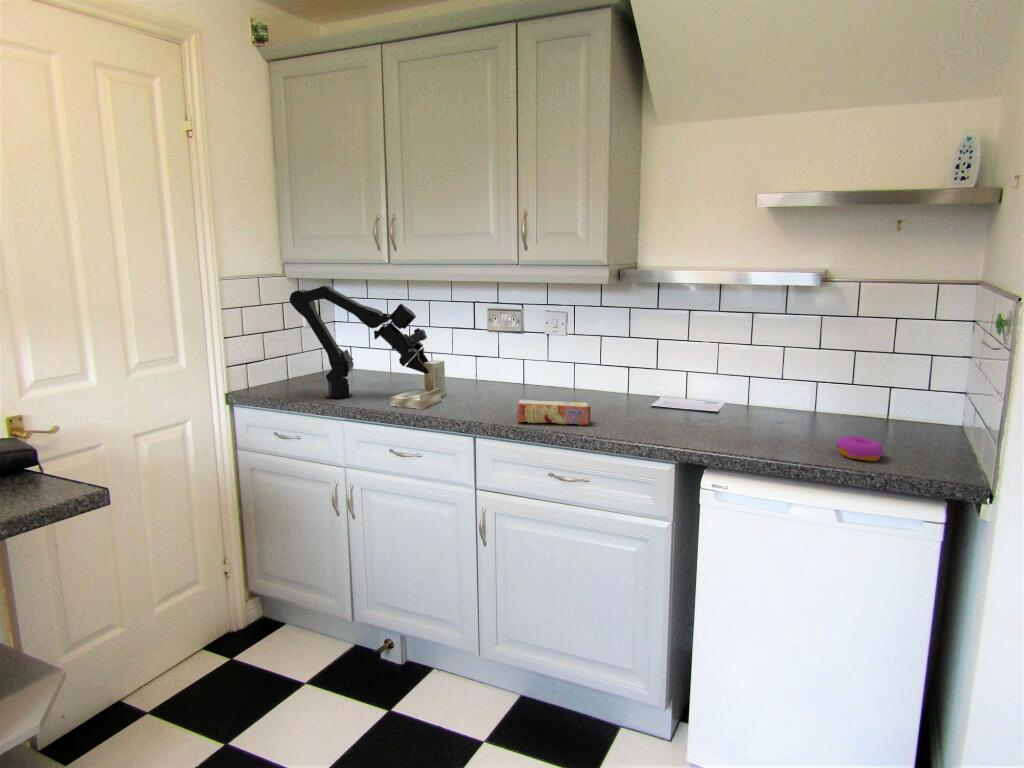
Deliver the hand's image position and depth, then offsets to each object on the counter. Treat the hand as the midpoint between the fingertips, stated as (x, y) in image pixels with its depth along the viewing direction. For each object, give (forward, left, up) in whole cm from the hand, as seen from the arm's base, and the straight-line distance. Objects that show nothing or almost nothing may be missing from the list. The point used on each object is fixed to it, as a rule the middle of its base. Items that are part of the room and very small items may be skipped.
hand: (429, 370), depth 237 cm
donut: (+132, -5, -9) cm, 133 cm away
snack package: (+53, -11, -9) cm, 55 cm away
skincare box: (+1, +1, -9) cm, 9 cm away
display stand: (+2, -11, -9) cm, 15 cm away
